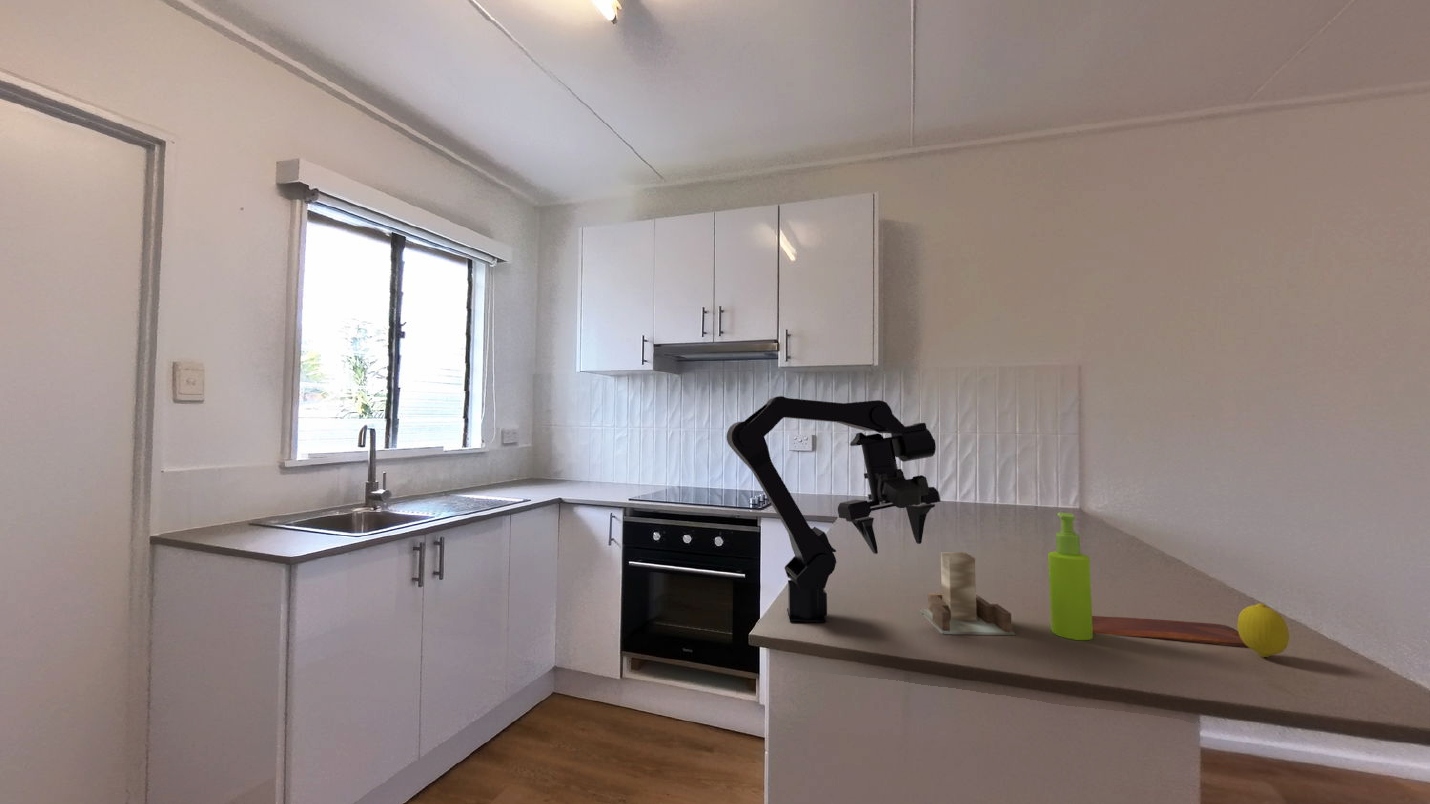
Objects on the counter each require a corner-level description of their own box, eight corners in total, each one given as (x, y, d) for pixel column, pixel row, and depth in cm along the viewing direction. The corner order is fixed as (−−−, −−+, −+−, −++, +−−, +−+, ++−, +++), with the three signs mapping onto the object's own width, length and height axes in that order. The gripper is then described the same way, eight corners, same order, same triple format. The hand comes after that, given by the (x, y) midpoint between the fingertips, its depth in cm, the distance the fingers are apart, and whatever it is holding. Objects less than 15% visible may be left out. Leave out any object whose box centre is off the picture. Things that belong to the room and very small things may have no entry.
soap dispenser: (1088, 628, 95) (1083, 511, 96) (1095, 642, 89) (1090, 517, 90) (1049, 623, 97) (1044, 510, 98) (1053, 637, 91) (1048, 515, 92)
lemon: (1296, 668, 79) (1293, 612, 79) (1244, 660, 82) (1241, 605, 82) (1283, 655, 84) (1280, 601, 84) (1234, 647, 86) (1231, 596, 87)
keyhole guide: (941, 634, 93) (941, 613, 93) (919, 611, 104) (919, 593, 104) (1014, 635, 92) (1014, 614, 92) (984, 612, 104) (983, 593, 104)
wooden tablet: (1228, 631, 95) (1228, 621, 95) (1266, 653, 86) (1265, 642, 86) (1053, 615, 103) (1053, 606, 103) (1070, 634, 94) (1070, 624, 94)
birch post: (950, 620, 98) (949, 557, 99) (942, 611, 103) (940, 552, 103) (976, 620, 98) (975, 558, 98) (966, 612, 102) (965, 552, 103)
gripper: (856, 474, 94) (874, 565, 93) (950, 456, 99) (968, 543, 97) (829, 474, 105) (845, 556, 104) (914, 458, 110) (930, 537, 108)
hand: (897, 548), depth 103 cm, fingers open, 9 cm apart
